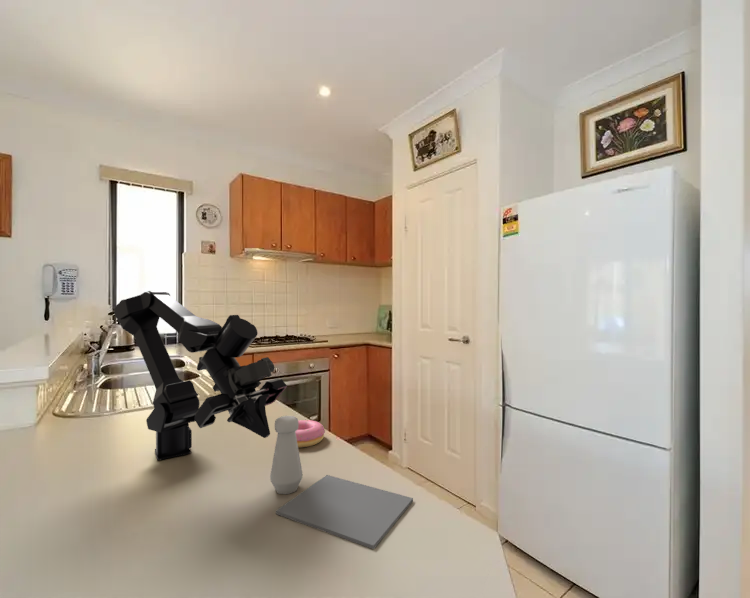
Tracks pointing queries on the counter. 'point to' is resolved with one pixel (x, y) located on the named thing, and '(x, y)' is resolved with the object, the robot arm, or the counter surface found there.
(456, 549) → the counter surface
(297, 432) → the doughnut
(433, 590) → the counter surface
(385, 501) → the mat
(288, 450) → the salt shaker
